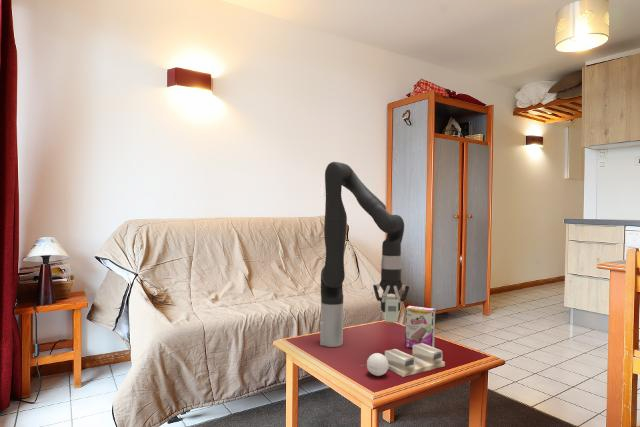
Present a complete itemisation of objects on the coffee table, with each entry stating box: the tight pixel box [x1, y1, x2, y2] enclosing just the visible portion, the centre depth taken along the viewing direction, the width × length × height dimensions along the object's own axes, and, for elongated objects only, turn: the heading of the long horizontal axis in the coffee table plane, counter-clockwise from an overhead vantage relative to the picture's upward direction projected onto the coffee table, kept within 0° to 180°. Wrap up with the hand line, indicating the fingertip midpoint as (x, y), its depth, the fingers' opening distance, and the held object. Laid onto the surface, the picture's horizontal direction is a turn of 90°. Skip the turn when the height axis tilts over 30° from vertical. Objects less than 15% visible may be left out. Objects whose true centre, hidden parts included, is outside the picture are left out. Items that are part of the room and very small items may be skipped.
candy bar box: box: [404, 305, 436, 349], centre depth 169 cm, size 11×5×16 cm, turn 65°
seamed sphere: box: [360, 352, 389, 377], centre depth 141 cm, size 10×7×7 cm
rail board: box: [384, 343, 446, 378], centre depth 149 cm, size 20×11×6 cm, turn 121°
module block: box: [382, 295, 399, 323], centre depth 158 cm, size 4×8×8 cm, turn 179°
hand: (390, 311), depth 158 cm, fingers closed on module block, 4 cm apart
